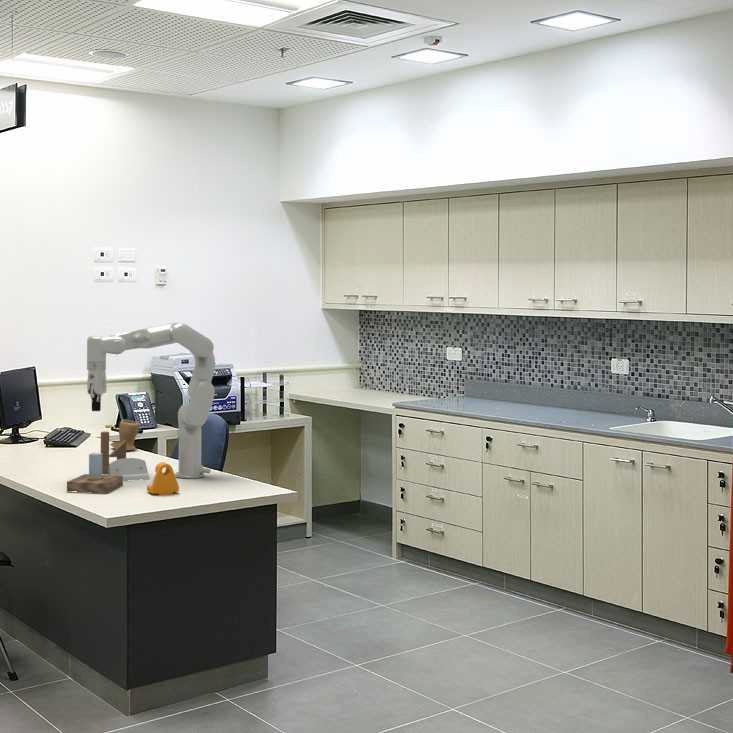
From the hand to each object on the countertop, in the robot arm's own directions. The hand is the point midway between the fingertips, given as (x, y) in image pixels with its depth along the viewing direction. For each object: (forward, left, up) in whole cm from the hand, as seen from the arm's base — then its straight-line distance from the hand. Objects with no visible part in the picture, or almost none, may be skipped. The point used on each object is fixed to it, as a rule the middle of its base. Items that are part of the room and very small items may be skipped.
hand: (96, 410), depth 417 cm
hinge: (-11, -8, -30) cm, 32 cm away
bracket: (-34, +18, -29) cm, 48 cm away
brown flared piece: (+17, -85, -29) cm, 91 cm away
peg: (-6, +16, -29) cm, 34 cm away
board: (-6, +16, -29) cm, 34 cm away
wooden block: (0, -20, -29) cm, 35 cm away
